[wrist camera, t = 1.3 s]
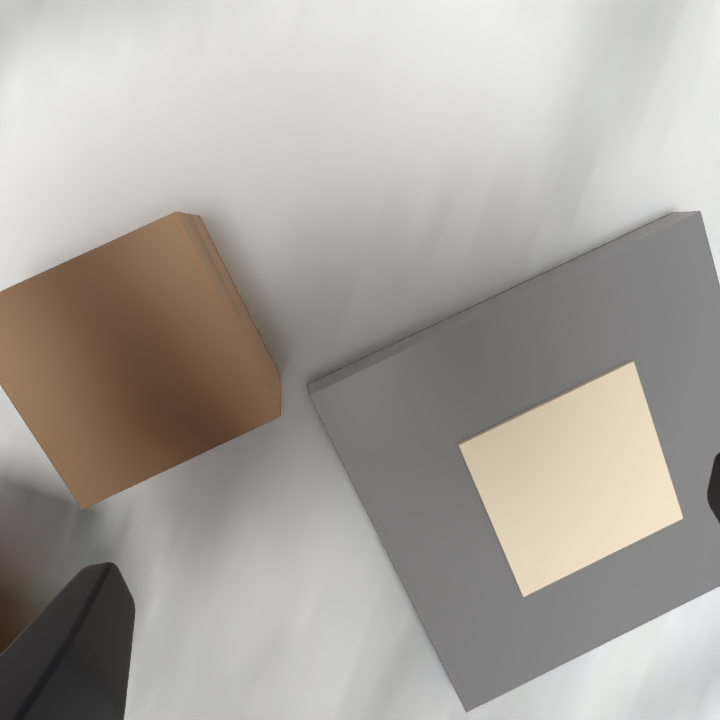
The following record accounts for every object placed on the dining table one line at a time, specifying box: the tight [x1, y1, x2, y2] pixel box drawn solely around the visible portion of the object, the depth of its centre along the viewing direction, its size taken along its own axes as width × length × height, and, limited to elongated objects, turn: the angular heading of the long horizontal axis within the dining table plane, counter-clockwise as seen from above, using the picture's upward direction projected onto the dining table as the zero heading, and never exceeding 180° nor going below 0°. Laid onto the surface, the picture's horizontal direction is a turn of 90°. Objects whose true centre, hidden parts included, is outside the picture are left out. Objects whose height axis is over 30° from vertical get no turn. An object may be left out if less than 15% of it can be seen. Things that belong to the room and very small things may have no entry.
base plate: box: [307, 211, 720, 712], centre depth 24 cm, size 16×16×2 cm
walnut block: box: [0, 212, 281, 510], centre depth 19 cm, size 6×6×5 cm
